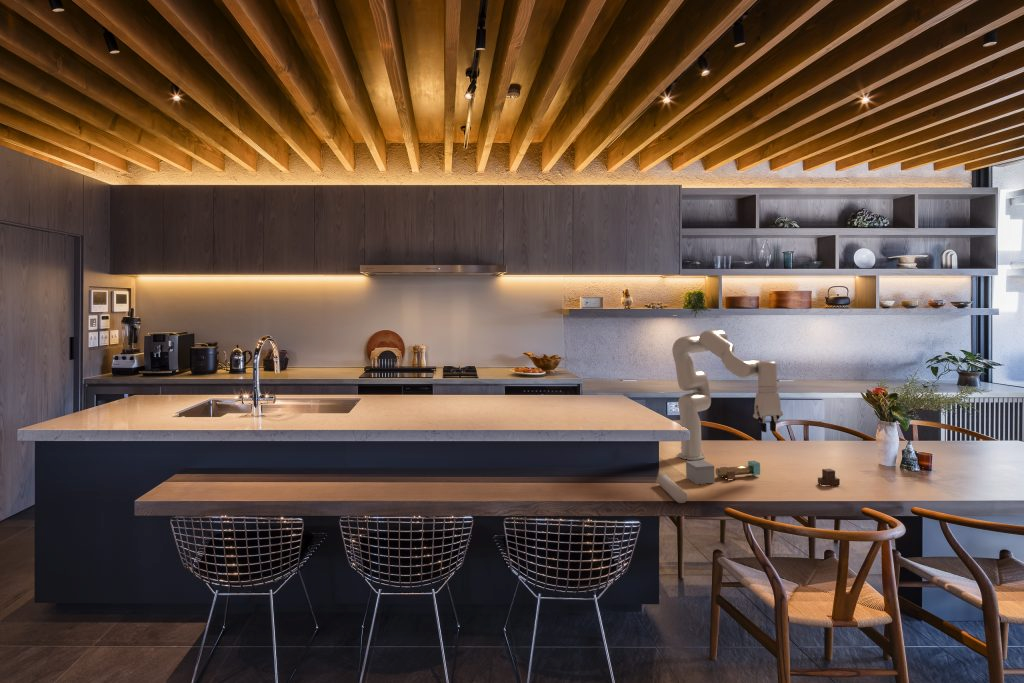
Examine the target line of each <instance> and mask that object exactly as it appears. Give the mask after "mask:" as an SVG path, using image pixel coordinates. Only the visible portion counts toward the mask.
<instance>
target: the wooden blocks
mask: <svg viewBox="0 0 1024 683" xmlns="http://www.w3.org/2000/svg"><path fill="white" fill-rule="evenodd" d="M821 471H822V472H821V473H822V474H821V475H822V476H821V477H817V484H818V483H819V484H821V485H840V483H841V482H840V481H841V478H838V477H837V476H836V470H834V469H832V468H822V469H821Z"/></svg>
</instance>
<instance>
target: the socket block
mask: <svg viewBox="0 0 1024 683" xmlns="http://www.w3.org/2000/svg"><path fill="white" fill-rule="evenodd" d="M685 473H686V474H685V477H686V478H685V479H687V478H688V479H689V480H688V479H687V480H688V481H690V480H691V481H692V482H691V481H690V482H691V483H693V482H694V483H693V484H694V485H696V484H697V485H696V486H699V485H698V484H701V485H707V484H706V483H712V484H715V483H714V482H715V481H716V480H715V465H714V464H712V463H710V462H708V461H706V460H704V459H700V460H686V461H685Z"/></svg>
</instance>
